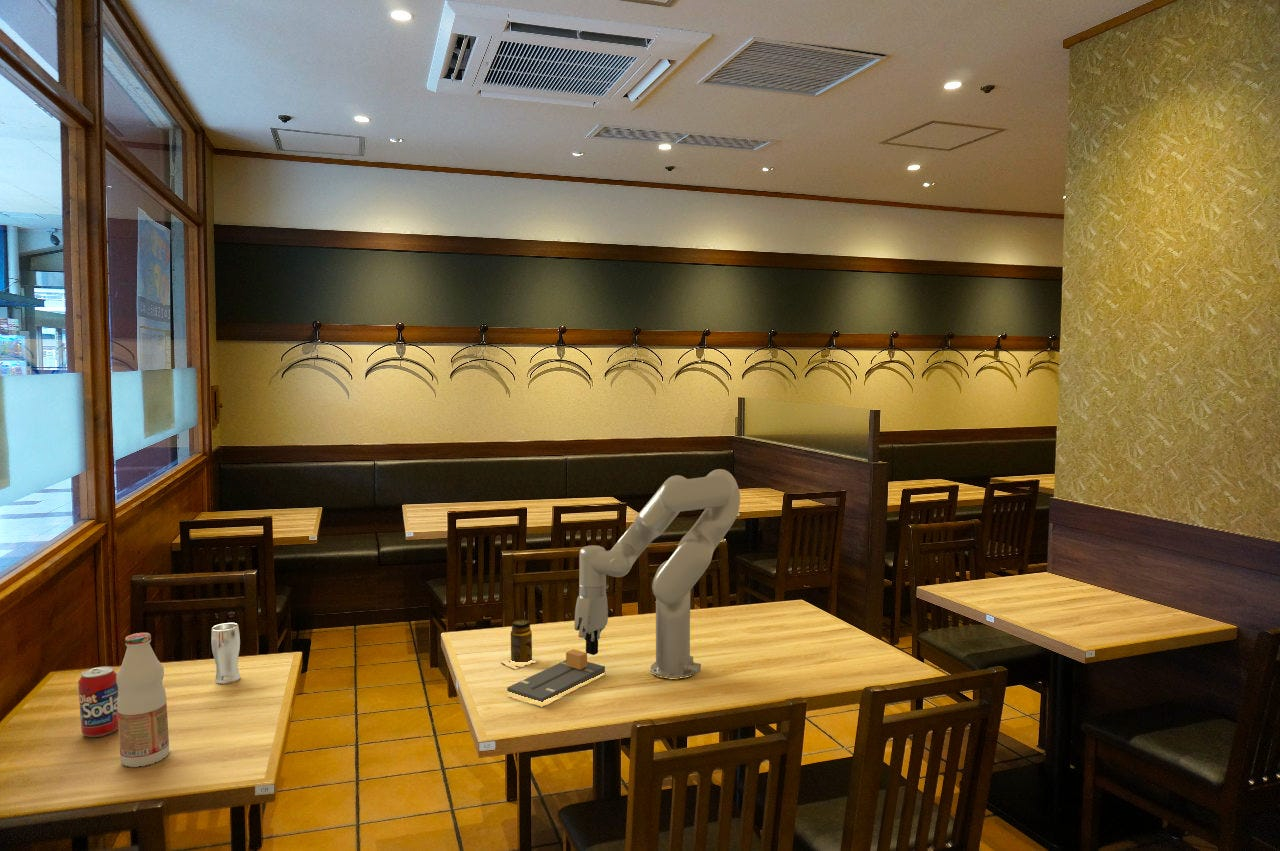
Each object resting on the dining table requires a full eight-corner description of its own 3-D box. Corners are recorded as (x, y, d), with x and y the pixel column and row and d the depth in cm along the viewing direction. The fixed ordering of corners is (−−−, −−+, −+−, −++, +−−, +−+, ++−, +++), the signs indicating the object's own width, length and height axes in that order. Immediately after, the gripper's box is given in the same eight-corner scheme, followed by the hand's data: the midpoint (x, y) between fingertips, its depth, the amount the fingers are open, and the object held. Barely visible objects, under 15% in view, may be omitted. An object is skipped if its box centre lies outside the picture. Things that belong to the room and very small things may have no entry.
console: (571, 665, 241) (571, 656, 240) (604, 675, 234) (604, 665, 234) (507, 696, 220) (507, 686, 219) (541, 708, 213) (541, 697, 212)
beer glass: (230, 685, 227) (227, 631, 226) (207, 683, 229) (204, 630, 227) (247, 675, 234) (244, 623, 233) (225, 674, 236) (222, 621, 234)
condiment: (538, 662, 243) (537, 622, 242) (514, 670, 238) (513, 629, 236) (523, 655, 249) (522, 616, 248) (499, 663, 243) (498, 622, 242)
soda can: (113, 721, 206) (109, 662, 205) (126, 730, 201) (122, 670, 200) (76, 733, 200) (72, 672, 199) (88, 742, 195) (84, 680, 194)
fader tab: (573, 662, 236) (573, 649, 235) (587, 666, 233) (586, 652, 232) (566, 665, 233) (566, 652, 233) (580, 669, 230) (580, 656, 230)
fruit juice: (128, 773, 181) (120, 646, 178) (115, 758, 188) (106, 636, 185) (175, 757, 188) (168, 635, 185) (161, 743, 194) (154, 625, 192)
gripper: (598, 581, 245) (597, 643, 247) (565, 593, 233) (564, 658, 235) (619, 586, 241) (618, 648, 243) (586, 599, 229) (585, 664, 231)
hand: (591, 653), depth 239 cm, fingers closed
